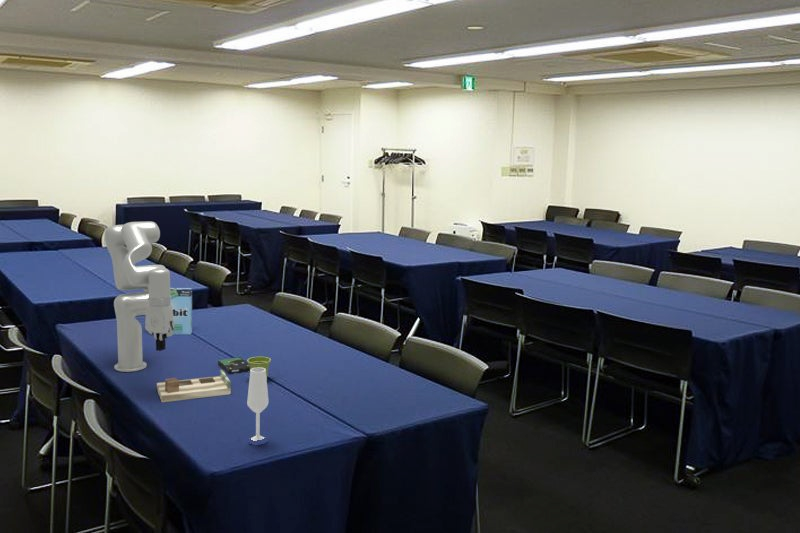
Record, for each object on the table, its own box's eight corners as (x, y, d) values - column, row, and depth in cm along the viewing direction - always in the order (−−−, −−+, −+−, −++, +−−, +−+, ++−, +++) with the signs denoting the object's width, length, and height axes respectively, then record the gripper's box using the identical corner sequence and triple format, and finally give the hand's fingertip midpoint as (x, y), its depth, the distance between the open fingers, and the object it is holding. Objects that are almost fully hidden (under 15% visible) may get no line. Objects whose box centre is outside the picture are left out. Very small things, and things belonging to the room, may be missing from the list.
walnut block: (165, 389, 253) (165, 379, 253) (176, 387, 255) (175, 377, 255) (168, 392, 250) (167, 382, 249) (179, 391, 252) (178, 381, 252)
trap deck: (156, 389, 261) (156, 376, 260) (222, 381, 271) (222, 369, 271) (161, 402, 247) (161, 389, 246) (230, 394, 258) (230, 381, 257)
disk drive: (252, 372, 286) (240, 362, 298) (252, 366, 285) (240, 356, 298) (228, 376, 280) (217, 365, 293) (228, 369, 280) (217, 359, 292)
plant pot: (242, 382, 272) (242, 361, 271) (255, 375, 281) (255, 355, 279) (262, 385, 269) (262, 364, 268) (275, 378, 278) (275, 358, 276)
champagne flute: (242, 443, 216) (242, 371, 212) (254, 435, 222) (254, 365, 218) (261, 447, 214) (261, 374, 210) (272, 439, 220) (272, 368, 216)
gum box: (150, 334, 333) (149, 289, 330) (152, 332, 338) (151, 287, 334) (191, 334, 337) (190, 289, 333) (192, 332, 342) (192, 287, 338)
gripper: (136, 301, 249) (137, 349, 252) (168, 306, 244) (169, 355, 246) (151, 297, 256) (152, 344, 259) (182, 302, 250) (183, 350, 253)
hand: (160, 349), depth 253 cm, fingers closed
